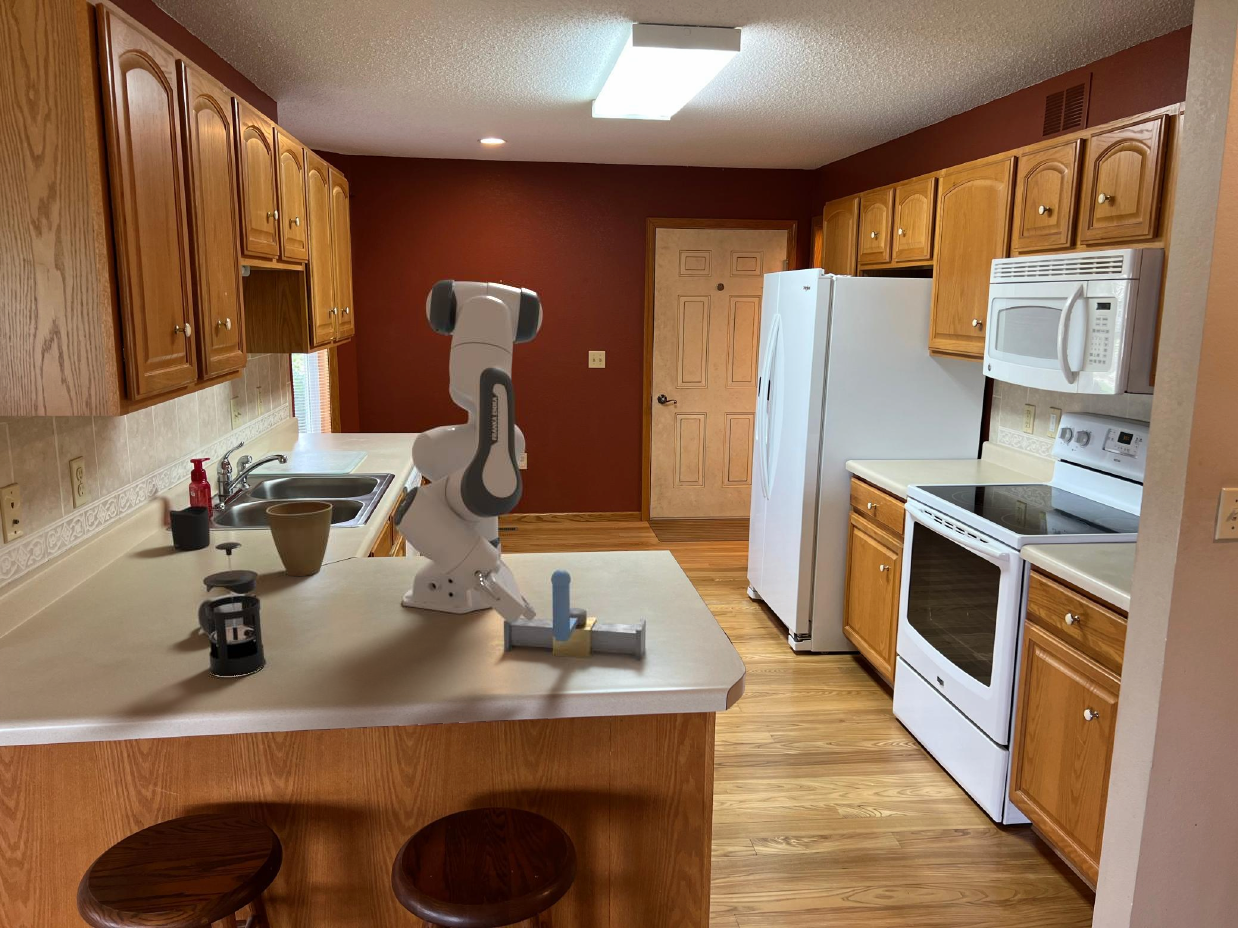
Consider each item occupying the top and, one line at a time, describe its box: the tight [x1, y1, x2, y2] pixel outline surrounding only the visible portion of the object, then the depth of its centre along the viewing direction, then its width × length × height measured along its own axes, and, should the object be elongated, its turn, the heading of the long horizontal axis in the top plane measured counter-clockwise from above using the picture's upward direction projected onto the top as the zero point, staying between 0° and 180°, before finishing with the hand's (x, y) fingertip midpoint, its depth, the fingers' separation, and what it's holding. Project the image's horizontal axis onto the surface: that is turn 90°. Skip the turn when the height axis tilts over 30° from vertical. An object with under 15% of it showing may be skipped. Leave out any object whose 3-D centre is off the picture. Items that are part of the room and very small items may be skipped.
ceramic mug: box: [197, 592, 246, 637], centre depth 180 cm, size 11×8×8 cm
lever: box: [550, 569, 588, 642], centre depth 164 cm, size 15×4×13 cm, turn 170°
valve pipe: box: [503, 616, 647, 662], centre depth 170 cm, size 26×6×6 cm, turn 80°
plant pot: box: [265, 500, 333, 577], centre depth 217 cm, size 15×15×16 cm
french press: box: [202, 541, 267, 676], centre depth 161 cm, size 12×9×23 cm
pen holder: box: [168, 505, 211, 552], centre depth 238 cm, size 9×9×10 cm
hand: (532, 614), depth 157 cm, fingers closed
